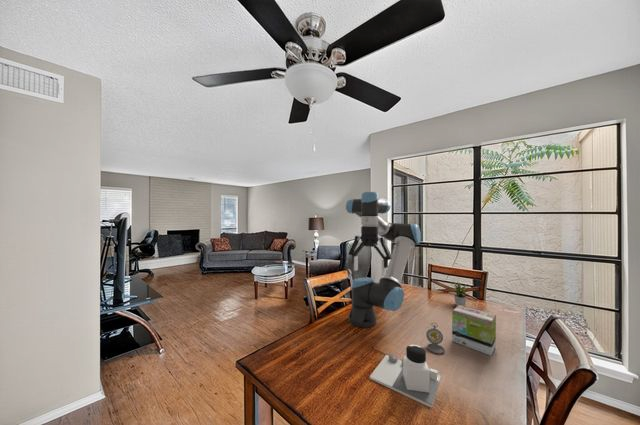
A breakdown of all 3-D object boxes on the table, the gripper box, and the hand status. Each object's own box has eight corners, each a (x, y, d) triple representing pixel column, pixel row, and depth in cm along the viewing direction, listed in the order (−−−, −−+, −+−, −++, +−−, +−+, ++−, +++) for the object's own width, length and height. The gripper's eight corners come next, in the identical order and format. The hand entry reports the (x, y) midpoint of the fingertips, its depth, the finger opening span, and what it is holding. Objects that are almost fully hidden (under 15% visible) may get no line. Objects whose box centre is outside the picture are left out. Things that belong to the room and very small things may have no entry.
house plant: (440, 301, 154) (440, 277, 154) (456, 299, 158) (456, 276, 158) (459, 310, 140) (459, 283, 141) (476, 307, 145) (476, 282, 145)
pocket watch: (435, 355, 94) (435, 331, 94) (421, 344, 102) (421, 322, 102) (451, 352, 96) (451, 329, 96) (436, 342, 104) (436, 320, 105)
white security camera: (430, 393, 73) (430, 355, 73) (406, 390, 74) (406, 352, 74) (424, 377, 80) (424, 343, 80) (402, 375, 81) (402, 341, 81)
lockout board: (369, 378, 80) (369, 370, 80) (386, 356, 93) (386, 349, 93) (431, 407, 68) (431, 398, 68) (441, 377, 81) (441, 369, 81)
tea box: (451, 342, 105) (451, 309, 105) (457, 334, 112) (457, 304, 112) (492, 356, 94) (492, 320, 94) (496, 347, 101) (496, 313, 101)
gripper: (341, 225, 108) (341, 270, 108) (393, 227, 94) (393, 279, 93) (349, 224, 114) (349, 267, 114) (399, 226, 100) (399, 275, 99)
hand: (369, 272), depth 104 cm, fingers open, 13 cm apart
